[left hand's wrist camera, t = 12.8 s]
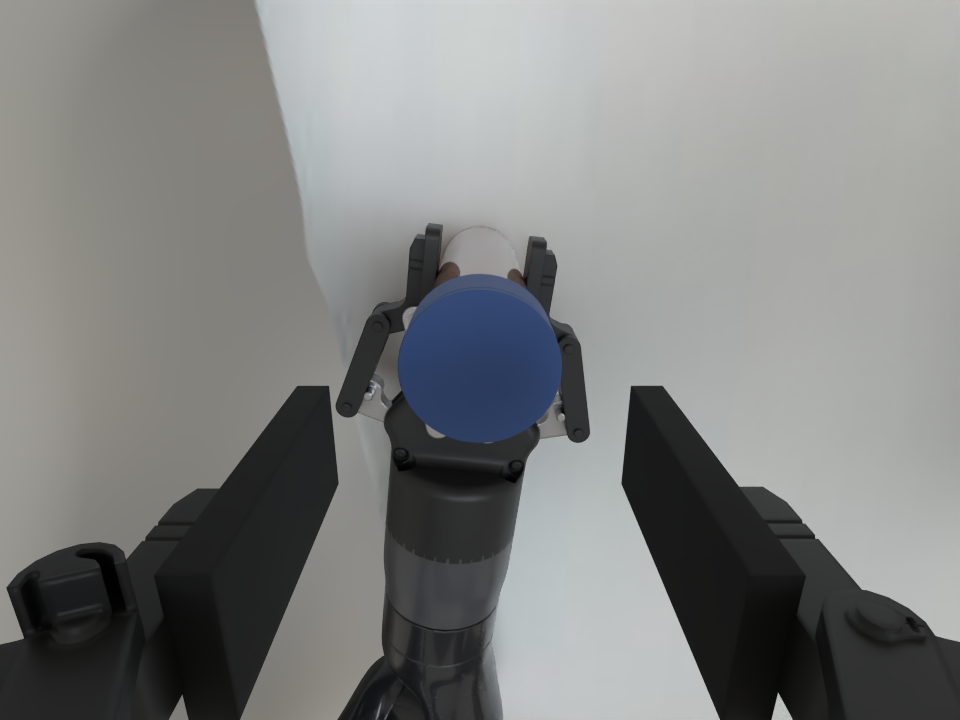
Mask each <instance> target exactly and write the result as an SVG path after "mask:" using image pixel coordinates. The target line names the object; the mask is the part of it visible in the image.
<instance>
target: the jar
mask: <svg viewBox="0 0 960 720" xmlns="http://www.w3.org/2000/svg"><path fill="white" fill-rule="evenodd" d="M469 274H491V275H496V276H500V277H503V278H506V279H509V280H511V281H513V282H515V283H517V284H519V285H521V286H522V287H524V288H525V289H526V290H527V288H526V285H525V282H524V279H523V276H522V273H521V270H520V267H519V264H518V261H517V258H516V255H515V252H514V249H513V247H512V245H511V243H510V242H509V241H508V239H507V238H506V237H505V236H504V235H502V234H501V233H499V232H498V231H496V230H494V229H491V228H487V227H473V228H469V229H466V230H464V231H462V232H460V233H459V234H457V235H456V236H455V237H454V238H453V239H452V240H451V241H450V243H449V245H448V246H447V248H446V251H445V254H444V257H443V260H442V263H441V266H440V269H439V272H438V275H437V278H436V282H435V285H434V288H433V289H435V288H436V287H438V286H439V285H441V284H442V283H444V282H446V281H449V280H451V279H453V278H456V277H459V276H464V275H469Z"/></svg>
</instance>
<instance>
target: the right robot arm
mask: <svg viewBox="0 0 960 720" xmlns="http://www.w3.org/2000/svg"><path fill="white" fill-rule="evenodd" d="M442 229H443V225H439V224H431V223H429V224H428V225H427V227H426V233H425V235H422V234H418V235H417V236H416V238H415V239H414V241H413V243H412V245H411V247H410V254H409V269H408V281H407V294H406V297H405V298H404V299H403V300H401V301H398V302H394V303H387V302H382V303H379V304H378V305H377V306H376V307H375V309H374V310H373V313H372V315H370V317H369V318H368V320H367V321H366V324H365V327H364V329H363V332H362V335H361V337H360V340H359V343H358V346H357V348H356V351H355V354H354V356H353V359H352V362H351V364H350V367H349V370H348V372H347V375H346V378H345V381H344V383H343V386H342V389H341V391H340V394H339V397H338V399H337V402H336V410H337V412H338V413H339V414H340V415H341V416H344V417H353V416H355V415H356V414H357V412H358V413H360V414H363V415H366V416H369V417H371V418H374V419H377V420H379V421H382V422H384V427H385V430H386V432H387V434H388V436H389V438H390V441H391V446H392V450H391V463H390V476H389V490H388V503H387V516H386V530H385V542H384V569H385V579H386V585H385V597H384V609H383V623H382V646H383V651H384V656H383V657H381V658H380V659H378V660H377V661H376V662H375V663H374V664H373V665H372V666H371V667H370V669H369V670H368V671H367V672H366V674H365V675H364V677H363V678H362V680H361V681H360V683H359V685H358V686H357V688H356V690H355V691H354V693H353V695H352V697H351V698H350V700H349V702H348V703H347V705H346V707H345V709H344V710H343V712H342V713H341V715H340V717H339V718H338V720H503V710H502V701H501V695H500V689H499V683H498V677H497V672H496V665H495V658H494V652H493V648H492V643H491V641H492V635H493V630H494V624H495V618H496V612H497V606H498V600H499V595H500V591H501V588H502V585H503V582H504V580H505V577H506V573H507V569H508V565H509V559H510V553H511V547H512V541H513V535H514V530H515V523H516V517H517V512H518V506H519V500H520V494H521V488H522V482H523V476H524V470H525V465H526V461H527V458H528V456H529V454H530V453H531V452H532V450H533V449H534V448H535V447H536V446H537V444H538V442H539V439H542V438H549V437H556V436H563V435H568V438H569V439H570V440H571V441H573V442H576V443H580V442H583V441H585V440H586V439H587V438H588V437H589V435H590V428H589V419H588V409H587V400H586V391H585V382H584V373H583V364H582V355H581V346H580V343H579V341H578V339H577V337H576V335H575V333H574V331H573V329H572V328H571V327H570V326H569V325H567V324H561V323H559V322H557V321H555V320H553V319H552V318H551V317H550V316H549V312H550V306H551V300H552V294H553V288H554V283H555V277H556V271H557V263H556V258H555V255H554V254H553V252H552V251H551V250H546V248H547V242H546V240H545V239H544V238H542V237H534V236H530V237H529V242H528V248H527V255H526V261H525V268H524V275H523V279H524V282H525V285H526V288H527V290H528V291H529V292H530V293H531V294H532V295H533V296H534V297H535V298H536V299H537V300H538V302H539V303H540V304H541V306H542V307H543V309H544V310H545V312H546V314H547V317H548V319H549V321H550V324H551V326H552V329H553V331H554V334H555V336H556V339H557V341H558V345H559V348H560V352H561V359H562V373H561V381H560V384H559V388H558V392H559V395H556V396H555V398H554V400H553V402H552V403H551V405H550V407H549V408H548V409H547V411H546V412H545V413H544V415H543V416H542V417H541V418H540V419H539V420H538V421H537V422H536V423H534V424H533V425H532V426H530V427H529V428H528V429H526V430H524V431H523V432H521V433H519V434H517V435H515V436H512V437H510V438H507V439H504V440H500V441H495V442H487V443H473V442H465V441H459V440H456V439H453V438H450V437H447V436H445V435H443V434H441V433H439V432H437V431H435V430H434V429H432V428H431V427H429V426H428V425H427V424H426V423H424V422H423V421H422V420H421V419H420V418H419V417H418V416H417V415H416V414H415V412H414V411H413V410H412V408H411V407H410V406H409V404H408V402H407V400H406V399H405V396H404V394H403V392H402V391H401V392H400V393H399V394H398V395H397V396H396V397H395V398H394V399H393V400H392V401H390V400H388V399H387V398H386V397H385V395H384V381H383V379H382V378H381V377H380V376H378V375H376V374H374V372H375V370H376V367H377V365H378V362H379V359H380V357H381V354H382V352H383V349H384V347H385V344H386V341H387V339H388V336H389V334H390V333H395V332H399V331H404V330H405V332H406V330H407V328H408V325H409V323H410V320H411V318H412V316H413V314H414V312H415V310H416V308H417V307H418V305H419V304H420V302H421V301H422V300H423V299H424V298H425V297H426V295H428V294H429V293H430V292H431V291H432V290H433V288H434V285H435V282H436V278H437V275H438V272H439V261H440V251H441V240H442Z"/></svg>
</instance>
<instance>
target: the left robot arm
mask: <svg viewBox="0 0 960 720" xmlns="http://www.w3.org/2000/svg"><path fill="white" fill-rule="evenodd" d="M337 486H338V474H337V464H336V453H335V443H334V433H333V423H332V413H331V402H330V392H329V386H297V387H296V389H295V390H294V391H293V392H292V394H291V395H290V397H289V398H288V399H287V400H286V402H285V403H284V404H283V406H282V407H281V408H280V410H279V411H278V412H277V414H276V415H275V416H274V418H273V419H272V420H271V422H270V423H269V424H268V425H267V427H266V428H265V429H264V431H263V432H262V433H261V435H260V436H259V437H258V439H257V440H256V441H255V443H254V444H253V445H252V447H251V448H250V449H249V451H248V452H247V453H246V455H245V456H244V457H243V459H242V460H241V461H240V462H239V464H238V465H237V466H236V468H235V469H234V470H233V472H232V473H231V474H230V476H229V477H228V478H227V480H226V481H225V482H224V484H223V485H222V486H221V488H220V489H196V490H195V491H193V492H192V493H190V494H189V495H187V496H185V497H184V498H182V499H181V500H179V501H178V502H176V503H175V504H173V506H172V507H171V508H170V509H169V510H168V512H167V513H166V514H165V515H164V516H163V517H162V518H161V520H160V521H159V522H158V526H155V527H154V528H153V529H152V530H151V531H150V533H149V534H148V535H147V536H146V539H145V541H142V542H141V543H140V544H139V545H138V547H137V548H136V549H135V550H134V551H133V552H132V554H131V555H130V556H129V557H128V558H127V559H126V558H125V554H124V551H122V550H121V549H120V548H118V547H117V546H116V545H113V544H107V543H101V542H97V543H87V544H79V545H75V546H72V547H68V548H65V549H62V550H58V551H56V552H54V553H51V554H49V555H47V556H45V557H43V558H41V559H39V560H37V561H35V562H34V563H32V564H31V565H29V566H28V567H27V568H25V569H24V570H22V571H21V572H20V573H18V574H17V575H16V577H15V578H14V579H13V580H12V581H11V583H10V584H9V585H8V586H7V591H8V594H9V597H10V599H11V602H12V605H13V608H14V610H15V614H16V616H17V619H18V622H19V625H20V628H21V630H22V633H23V636H24V639H22V640H18V641H14V642H10V643H5V644H1V645H0V720H169V718H170V716H171V714H172V712H173V710H174V709H175V707H176V705H177V703H178V701H179V699H180V697H181V696H182V694H183V698H184V703H185V707H186V711H187V715H188V719H189V720H240V718H241V716H242V713H243V711H244V708H245V706H246V704H247V701H248V699H249V697H250V694H251V692H252V689H253V687H254V684H255V682H256V680H257V677H258V675H259V673H260V670H261V668H262V665H263V663H264V661H265V658H266V656H267V654H268V651H269V649H270V646H271V644H272V642H273V639H274V637H275V634H276V632H277V630H278V627H279V625H280V622H281V620H282V618H283V615H284V613H285V610H286V608H287V606H288V603H289V601H290V598H291V596H292V594H293V591H294V589H295V587H296V584H297V582H298V579H299V577H300V575H301V572H302V570H303V567H304V565H305V563H306V560H307V558H308V555H309V553H310V551H311V548H312V546H313V543H314V541H315V539H316V536H317V534H318V531H319V529H320V527H321V524H322V522H323V519H324V517H325V515H326V512H327V510H328V507H329V505H330V503H331V500H332V498H333V496H334V493H335V491H336V488H337ZM622 486H623V488H624V491H625V493H626V496H627V498H628V500H629V503H630V505H631V508H632V510H633V512H634V515H635V517H636V520H637V522H638V524H639V527H640V529H641V531H642V534H643V536H644V539H645V541H646V543H647V546H648V548H649V551H650V553H651V555H652V558H653V560H654V563H655V565H656V567H657V570H658V572H659V575H660V577H661V579H662V582H663V584H664V587H665V589H666V591H667V594H668V596H669V598H670V601H671V603H672V606H673V608H674V610H675V613H676V615H677V618H678V620H679V622H680V625H681V627H682V630H683V632H684V634H685V637H686V639H687V642H688V644H689V646H690V649H691V651H692V654H693V656H694V658H695V661H696V663H697V666H698V668H699V670H700V673H701V675H702V677H703V680H704V682H705V685H706V687H707V689H708V692H709V694H710V697H711V699H712V701H713V704H714V706H715V709H716V711H717V713H718V716H719V718H720V720H771V719H772V715H773V711H774V707H775V703H776V698H777V694H778V693H779V695H780V696H781V698H782V700H783V702H784V704H785V706H786V707H787V709H788V711H789V713H790V715H791V717H792V718H793V720H960V642H957V641H953V640H948V639H944V638H941V637H937V636H935V635H934V633H933V632H932V631H931V629H930V628H929V626H928V625H927V623H926V622H925V621H923V620H922V619H921V618H920V617H919V616H917V615H916V614H915V613H914V612H913V611H911V610H910V609H909V608H907V607H905V606H903V605H901V604H900V603H898V602H896V601H894V600H892V599H890V598H888V597H886V596H882V595H879V594H876V593H873V592H870V591H867V590H862V589H861V588H860V587H859V586H858V585H857V584H856V582H855V581H854V580H853V579H852V578H851V577H850V575H849V574H848V573H847V572H846V571H845V570H844V568H843V567H842V566H841V565H840V564H839V563H838V561H837V560H836V559H835V558H834V557H833V556H832V554H831V553H830V552H829V551H828V550H827V549H826V547H825V546H824V545H823V544H822V543H821V542H820V540H819V539H815V535H814V533H813V532H812V531H811V530H810V529H809V528H808V526H807V525H806V524H803V523H802V519H801V518H800V517H799V516H798V515H797V514H796V512H795V511H794V510H793V509H792V508H791V507H790V505H789V504H788V503H787V502H786V501H784V500H782V499H781V498H779V497H778V496H776V495H775V494H773V493H772V492H770V491H769V490H767V489H765V488H764V487H739V486H738V485H737V484H736V482H735V481H734V480H733V478H732V477H731V476H730V474H729V473H728V472H727V470H726V469H725V468H724V466H723V465H722V464H721V462H720V461H719V460H718V458H717V457H716V456H715V455H714V453H713V452H712V451H711V449H710V448H709V447H708V445H707V444H706V443H705V441H704V440H703V439H702V437H701V436H700V435H699V433H698V432H697V431H696V429H695V428H694V427H693V425H692V424H691V423H690V422H689V420H688V419H687V418H686V416H685V415H684V414H683V412H682V411H681V410H680V408H679V407H678V406H677V404H676V403H675V402H674V400H673V399H672V398H671V396H670V395H669V394H668V392H667V391H666V390H665V389H664V387H663V386H631V392H630V402H629V412H628V423H627V433H626V443H625V453H624V463H623V474H622Z"/></svg>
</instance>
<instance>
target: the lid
mask: <svg viewBox="0 0 960 720" xmlns="http://www.w3.org/2000/svg"><path fill="white" fill-rule="evenodd" d="M561 373H562V359H561V352H560V348H559V345H558V341H557V339H556V336H555V334H554V331H553V329H552V326H551V324H550V321H549V319H548V317H547V314H546V312H545V310H544V309H543V307H542V306H541V304H540V303H539V302H538V300H537V299H536V298H535V297H534V296H533V295H532V294H531V293H530V292H529V291H528V290H526V289H525V288H524V287H522V286H521V285H519V284H517V283H515V282H513V281H511V280H509V279H506V278H503V277H500V276H496V275H491V274H469V275H464V276H459V277H456V278H453V279H451V280H449V281H446V282H444V283H442V284H441V285H439V286H438V287H436V288H435V289H433V290H432V291H431V292H430V293H429V294H428V295H426V297H425V298H424V299H423V300H422V301H421V302H420V304H419V305H418V307H417V308H416V310H415V312H414V314H413V316H412V318H411V320H410V323H409V325H408V328H407V330H406V333H405V335H404V338H403V341H402V344H401V347H400V351H399V357H398V375H399V381H400V385H401V389H402V392H403V394H404V396H405V399H406V400H407V402H408V404H409V406H410V407H411V408H412V410H413V411H414V412H415V414H416V415H417V416H418V417H419V418H420V419H421V420H422V421H423V422H424V423H426V424H427V425H428V426H429V427H431V428H432V429H434V430H435V431H437V432H439V433H441V434H443V435H445V436H447V437H450V438H453V439H456V440H459V441H465V442H473V443H487V442H495V441H500V440H504V439H507V438H510V437H512V436H515V435H517V434H519V433H521V432H523V431H524V430H526V429H528V428H529V427H530V426H532V425H533V424H534V423H536V422H537V421H538V420H539V419H540V418H541V417H542V416H543V415H544V413H545V412H546V411H547V409H548V408H549V407H550V405H551V403H552V402H553V400H554V398H555V396H556V393H557V391H558V388H559V384H560V381H561Z"/></svg>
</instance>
